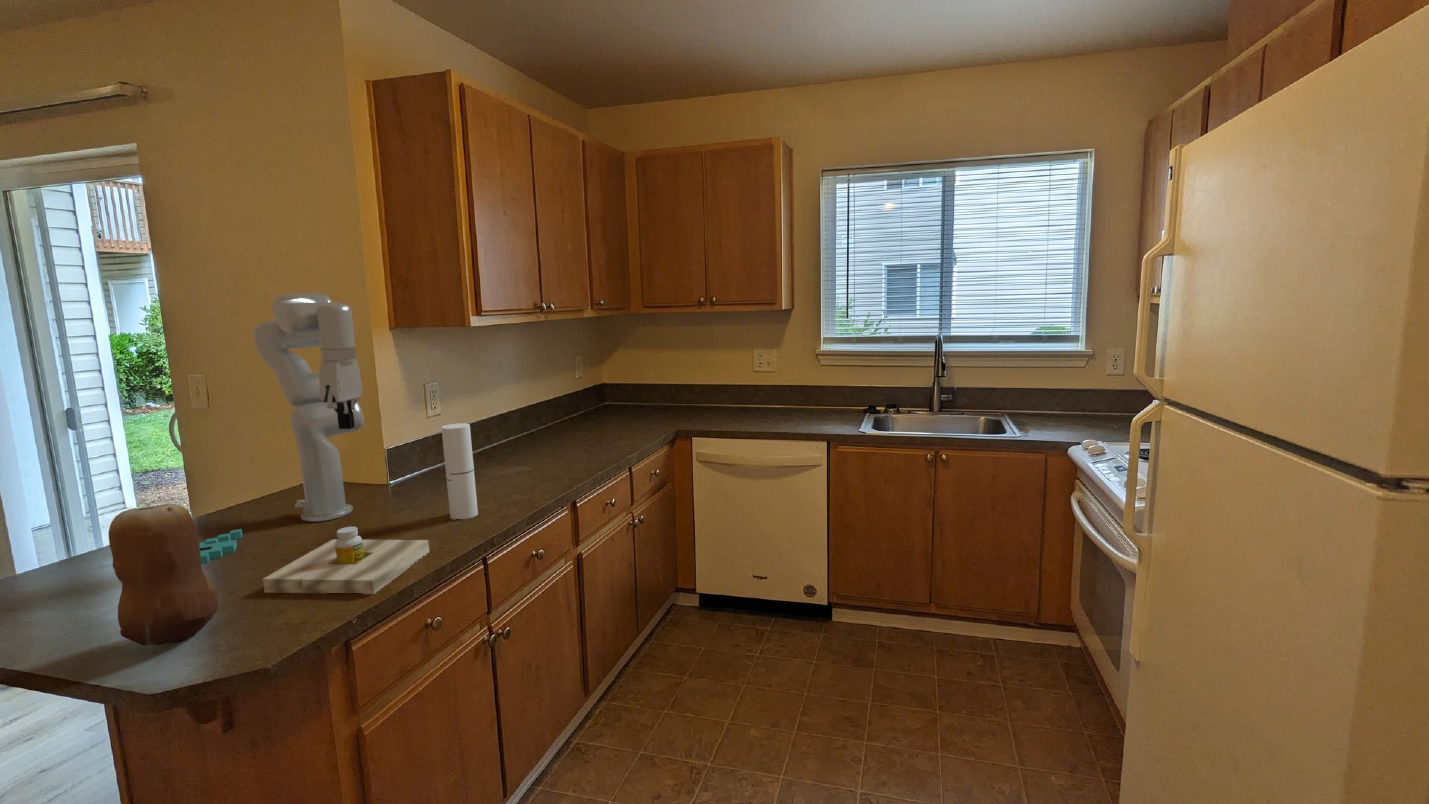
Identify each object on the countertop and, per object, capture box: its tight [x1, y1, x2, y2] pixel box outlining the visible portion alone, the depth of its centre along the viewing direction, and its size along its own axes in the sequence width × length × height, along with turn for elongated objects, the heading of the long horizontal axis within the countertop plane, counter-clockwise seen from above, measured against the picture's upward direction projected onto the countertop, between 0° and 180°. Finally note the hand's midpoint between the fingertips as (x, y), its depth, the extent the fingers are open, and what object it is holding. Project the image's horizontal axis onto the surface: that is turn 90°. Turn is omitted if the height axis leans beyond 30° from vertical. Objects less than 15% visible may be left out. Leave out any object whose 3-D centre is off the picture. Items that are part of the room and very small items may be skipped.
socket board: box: [262, 538, 430, 595], centre depth 148 cm, size 24×22×3 cm
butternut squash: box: [108, 503, 219, 646], centre depth 118 cm, size 14×13×25 cm
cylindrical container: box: [440, 422, 479, 520], centre depth 181 cm, size 7×7×25 cm
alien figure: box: [199, 528, 244, 565], centre depth 160 cm, size 20×2×20 cm
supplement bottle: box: [335, 526, 365, 564], centre depth 147 cm, size 5×5×10 cm
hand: (346, 428), depth 167 cm, fingers closed
